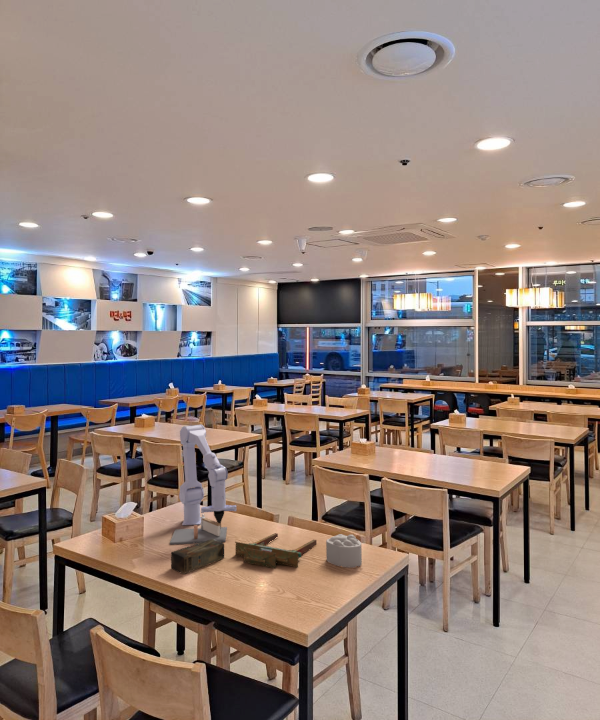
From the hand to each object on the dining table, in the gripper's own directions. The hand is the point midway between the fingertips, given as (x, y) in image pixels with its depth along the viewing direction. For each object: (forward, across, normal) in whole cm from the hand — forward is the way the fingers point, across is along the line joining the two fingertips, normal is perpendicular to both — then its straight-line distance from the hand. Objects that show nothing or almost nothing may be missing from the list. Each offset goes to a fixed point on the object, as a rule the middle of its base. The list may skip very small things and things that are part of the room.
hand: (219, 528), depth 227 cm
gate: (+1, -4, +1) cm, 4 cm away
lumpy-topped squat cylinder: (+3, +47, -35) cm, 59 cm away
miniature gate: (+3, +23, -24) cm, 33 cm away
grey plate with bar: (+2, -8, -1) cm, 9 cm away
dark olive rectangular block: (+3, -6, -30) cm, 30 cm away
